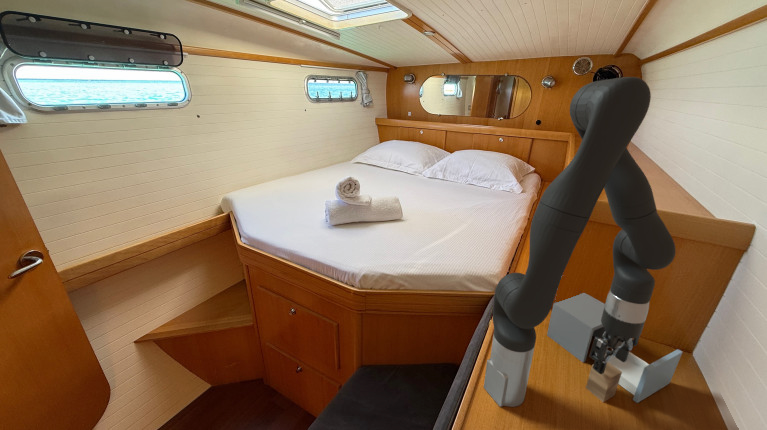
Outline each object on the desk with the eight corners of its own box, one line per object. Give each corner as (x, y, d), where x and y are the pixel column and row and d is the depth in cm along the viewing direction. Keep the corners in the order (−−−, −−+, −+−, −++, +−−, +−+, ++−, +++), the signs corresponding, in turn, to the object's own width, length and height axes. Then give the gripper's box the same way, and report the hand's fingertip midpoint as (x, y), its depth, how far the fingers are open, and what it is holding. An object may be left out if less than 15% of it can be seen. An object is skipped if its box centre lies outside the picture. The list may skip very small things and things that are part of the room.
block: (602, 402, 74) (610, 378, 71) (585, 388, 78) (592, 364, 75) (614, 395, 76) (622, 372, 73) (596, 382, 80) (603, 358, 77)
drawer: (637, 403, 74) (649, 370, 70) (590, 367, 84) (598, 337, 80) (669, 383, 79) (682, 351, 75) (621, 351, 89) (631, 323, 85)
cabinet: (582, 362, 86) (592, 328, 81) (546, 335, 96) (553, 303, 92) (614, 347, 91) (624, 314, 86) (576, 323, 101) (584, 292, 97)
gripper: (622, 331, 63) (606, 388, 68) (662, 311, 68) (644, 366, 73) (587, 310, 69) (575, 364, 75) (626, 294, 74) (611, 345, 80)
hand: (609, 365), depth 74 cm, fingers open, 8 cm apart
